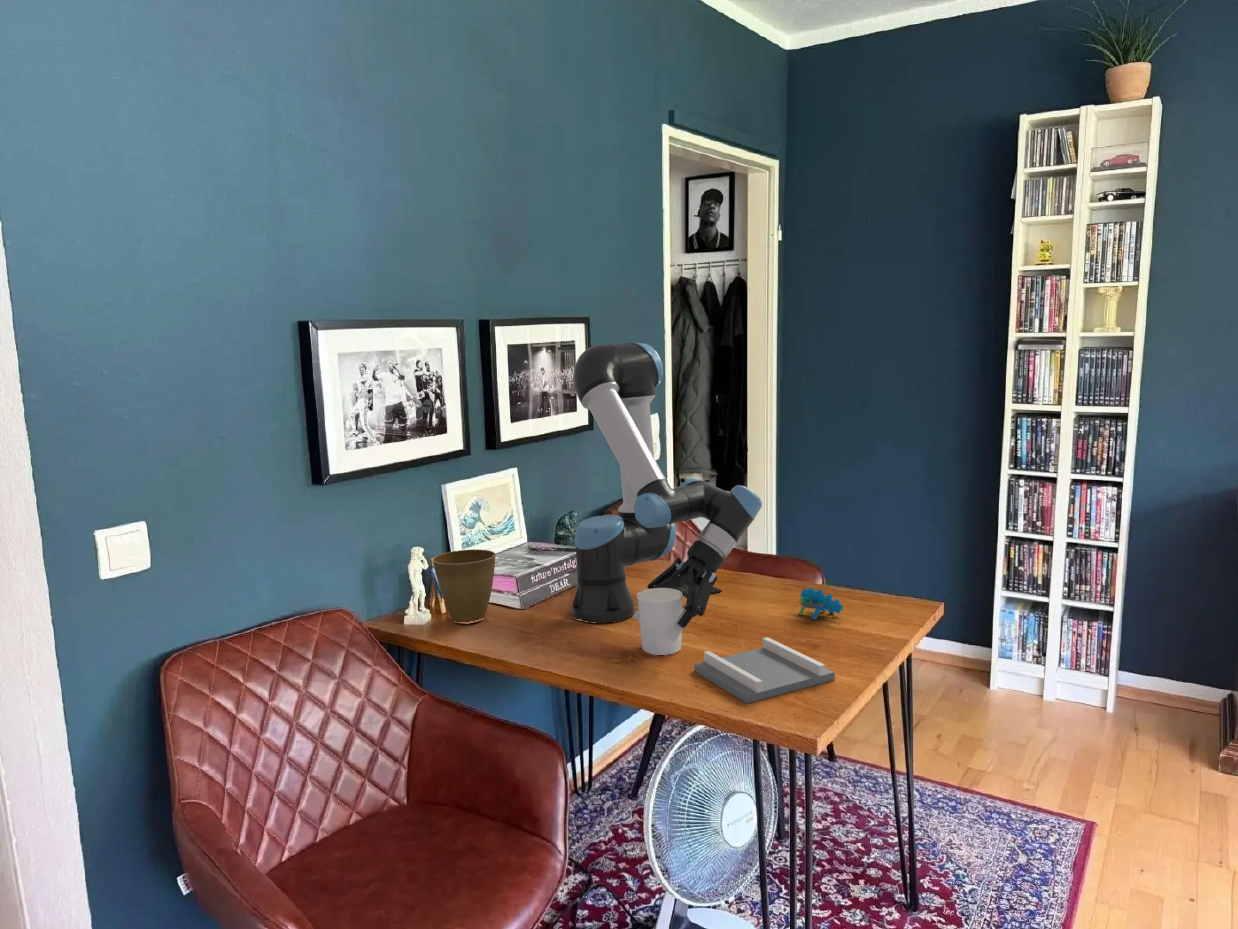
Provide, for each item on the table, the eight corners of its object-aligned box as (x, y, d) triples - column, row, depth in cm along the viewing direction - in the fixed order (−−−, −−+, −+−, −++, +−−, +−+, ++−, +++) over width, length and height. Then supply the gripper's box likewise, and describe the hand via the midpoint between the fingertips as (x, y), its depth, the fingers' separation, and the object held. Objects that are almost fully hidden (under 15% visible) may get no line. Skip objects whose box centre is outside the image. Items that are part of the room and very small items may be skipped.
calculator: (689, 599, 218) (689, 588, 217) (669, 588, 228) (668, 577, 228) (722, 593, 221) (721, 582, 221) (700, 583, 232) (699, 572, 232)
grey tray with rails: (746, 703, 154) (746, 685, 153) (694, 671, 170) (693, 654, 169) (834, 679, 162) (834, 662, 162) (776, 651, 179) (776, 635, 178)
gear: (852, 610, 197) (828, 586, 193) (842, 633, 195) (818, 609, 190) (815, 606, 206) (791, 583, 202) (805, 627, 204) (781, 605, 199)
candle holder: (629, 650, 183) (626, 596, 181) (659, 637, 190) (656, 585, 188) (664, 660, 176) (662, 604, 175) (694, 647, 183) (692, 592, 182)
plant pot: (512, 616, 209) (508, 552, 207) (465, 634, 198) (460, 567, 196) (472, 606, 219) (467, 545, 217) (425, 623, 208) (419, 558, 205)
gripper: (754, 571, 176) (694, 656, 172) (691, 548, 198) (636, 622, 194) (732, 550, 173) (670, 636, 169) (670, 529, 195) (614, 604, 191)
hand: (652, 629), depth 181 cm, fingers open, 13 cm apart
